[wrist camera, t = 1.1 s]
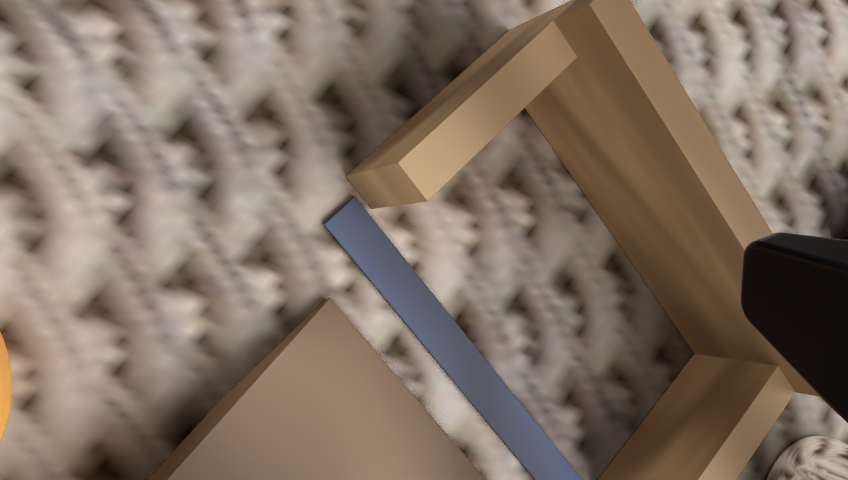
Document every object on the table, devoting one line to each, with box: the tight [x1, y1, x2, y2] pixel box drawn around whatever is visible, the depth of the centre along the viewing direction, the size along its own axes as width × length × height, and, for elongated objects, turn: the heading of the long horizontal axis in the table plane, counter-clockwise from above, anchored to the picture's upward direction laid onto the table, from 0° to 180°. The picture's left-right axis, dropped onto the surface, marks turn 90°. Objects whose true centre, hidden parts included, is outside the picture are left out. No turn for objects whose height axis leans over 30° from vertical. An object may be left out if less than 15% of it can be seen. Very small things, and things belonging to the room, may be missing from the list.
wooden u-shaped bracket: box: [324, 0, 819, 480], centre depth 23 cm, size 9×14×5 cm, turn 41°
